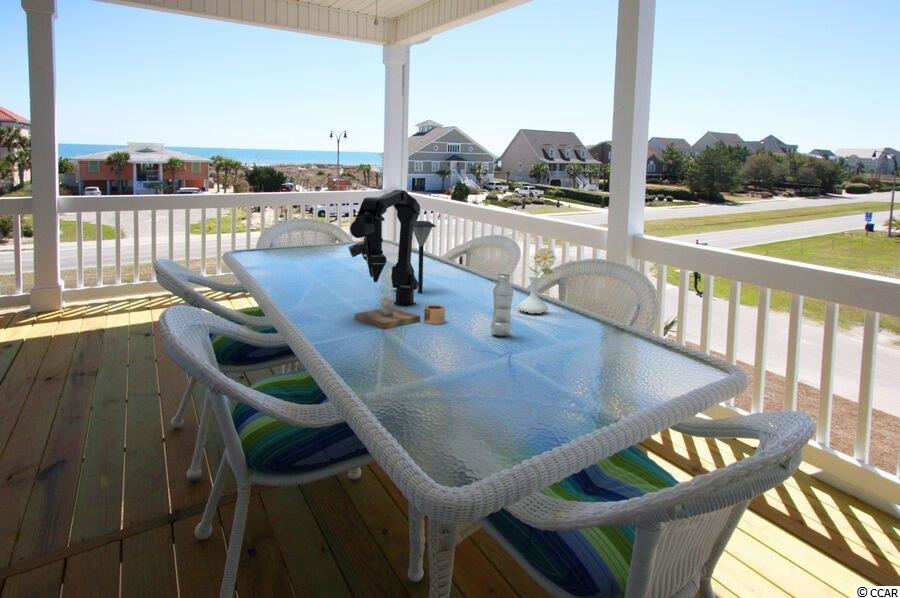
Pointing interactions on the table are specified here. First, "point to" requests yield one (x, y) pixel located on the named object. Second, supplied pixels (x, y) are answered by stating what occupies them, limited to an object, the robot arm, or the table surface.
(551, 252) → the flower in vase
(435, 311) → the brown octagonal cup
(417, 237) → the solar garden light
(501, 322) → the plastic bottle
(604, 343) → the table surface
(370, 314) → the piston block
